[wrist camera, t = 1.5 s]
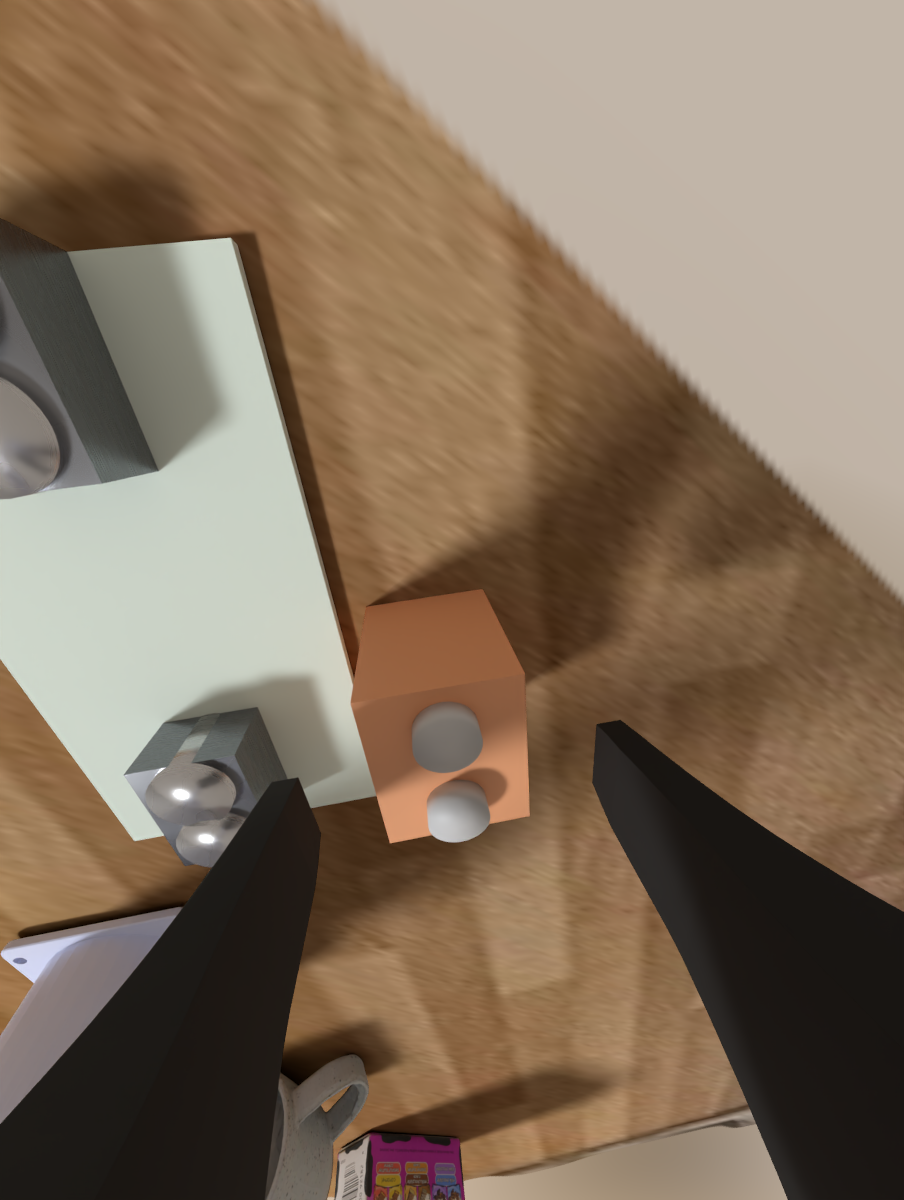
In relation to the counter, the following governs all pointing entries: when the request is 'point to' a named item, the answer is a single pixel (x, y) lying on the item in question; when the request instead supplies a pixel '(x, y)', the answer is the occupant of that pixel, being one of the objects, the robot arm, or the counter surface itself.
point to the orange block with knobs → (441, 717)
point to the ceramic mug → (312, 1129)
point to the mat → (181, 548)
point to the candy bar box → (400, 1168)
